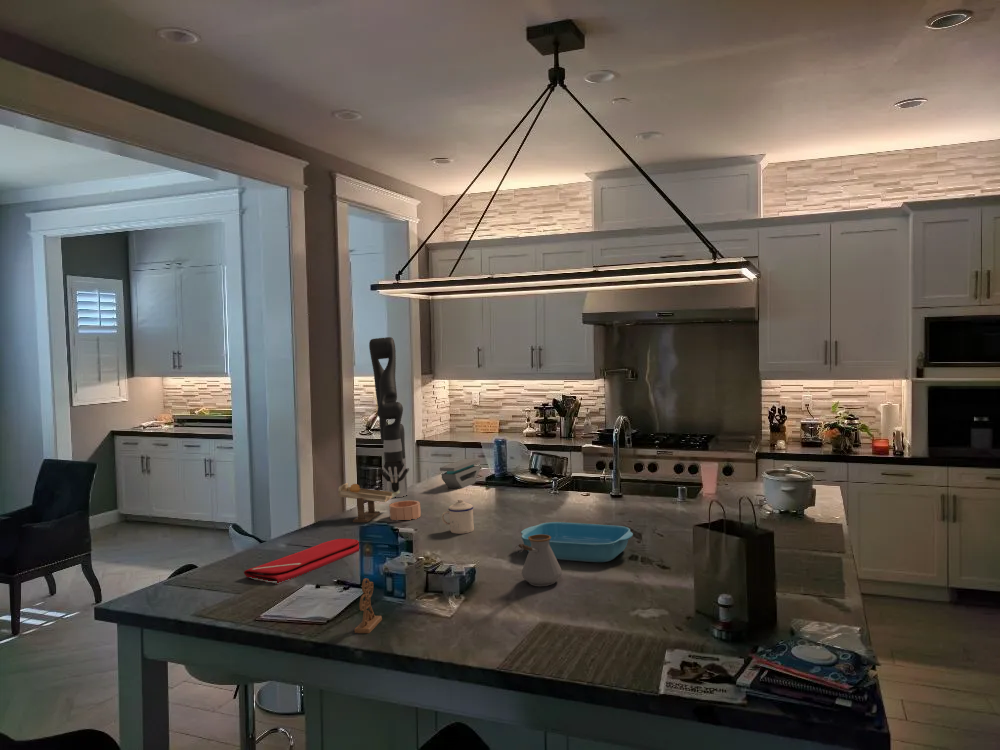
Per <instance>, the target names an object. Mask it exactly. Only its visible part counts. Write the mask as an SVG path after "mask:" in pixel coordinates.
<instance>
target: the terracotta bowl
mask: <svg viewBox="0 0 1000 750" xmlns="http://www.w3.org/2000/svg"><path fill="white" fill-rule="evenodd" d="M388 507H389V518H390V520H391V519H392V520H391V521H393V520H410V521H412V520H411V519H415V520H417V518H418V519H420V518H419V517H421V516H422V515H421V514H422V513H421V512H422V511H421V502H419V500H401V501H395V502H392V503H391V504H388Z"/></svg>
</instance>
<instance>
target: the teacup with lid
mask: <svg viewBox="0 0 1000 750" xmlns="http://www.w3.org/2000/svg"><path fill="white" fill-rule="evenodd" d="M445 514H446V515H448V516H449V522H447V521H446V520H445V518H444V516H445ZM440 516H441V517H440V518H441V521H442V523H443V525H444V524H445V525H446V526H450V527H449V528H450V532H451V533H452V534H456V535H458V534H459V535H461V534H469V533H472V532H473V531H474V530H475V528H474V527H475V526H474V525H475V524H474V506H473V504H471V503H468V502H466V501H464V500H463V498H458V499H457V502H454V503H452V505H449V507H448V511H444V512H443V513H442V514H441V515H440Z"/></svg>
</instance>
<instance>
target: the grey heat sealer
mask: <svg viewBox="0 0 1000 750" xmlns="http://www.w3.org/2000/svg"><path fill="white" fill-rule="evenodd" d="M480 462H481V458H470V457H469V458H464V459H461V460H457V461H454V462H452V463H449V464H446V465H443V466H440V467H439V471H440V472H444V473H441V480H442V481H443V482H444V484H445V485H446V486H447V487H448V488H449V489H450V488H452V489H453V488H454V489H465V488H467V487H469V486H471V485H473V484H476V481H477V479H478V476H479V473H480V466H479V465H475V464H479V463H480Z"/></svg>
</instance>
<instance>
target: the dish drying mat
mask: <svg viewBox="0 0 1000 750" xmlns="http://www.w3.org/2000/svg"><path fill="white" fill-rule="evenodd" d="M359 542H360V541H359V540H358V539H356V538H355V539H353V538H335V539H332V540H328V541H324V542H321V543H319V544H317V545H314V546H311V547H309V548H306V549H304V550H301V551H298V552H295V553H292V554H289V555H285V556H283V557H281V558H277V559H274V560H272V561H269V562H265V563H262V564H260V565H257V566H254V567H251V568H248V569H245V570H244V571H243V574H244V576H245V577H246V578H248V577H252V578H258V579H263V580H268V581H277V583H279V582H282V581H285V580H288V579H290V580H292V579H291V578H293V579H295V578H298V577H300V576H303V575H305V574H308V573H310V572H313V571H314V570H317V569H319V568H321V567H324V566H327V565H329V564H332V563H334V562H336V561H339V560H340V559H343V558H346V557H348V556H350V555H353V554H355V553H357V552H360V551H359ZM312 570H313V571H312ZM309 571H310V572H309ZM307 572H308V573H307ZM304 573H305V574H304ZM302 574H303V575H302ZM299 575H300V576H299ZM297 576H298V577H297ZM294 577H295V578H294ZM288 581H289V580H288ZM285 582H286V581H285Z"/></svg>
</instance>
